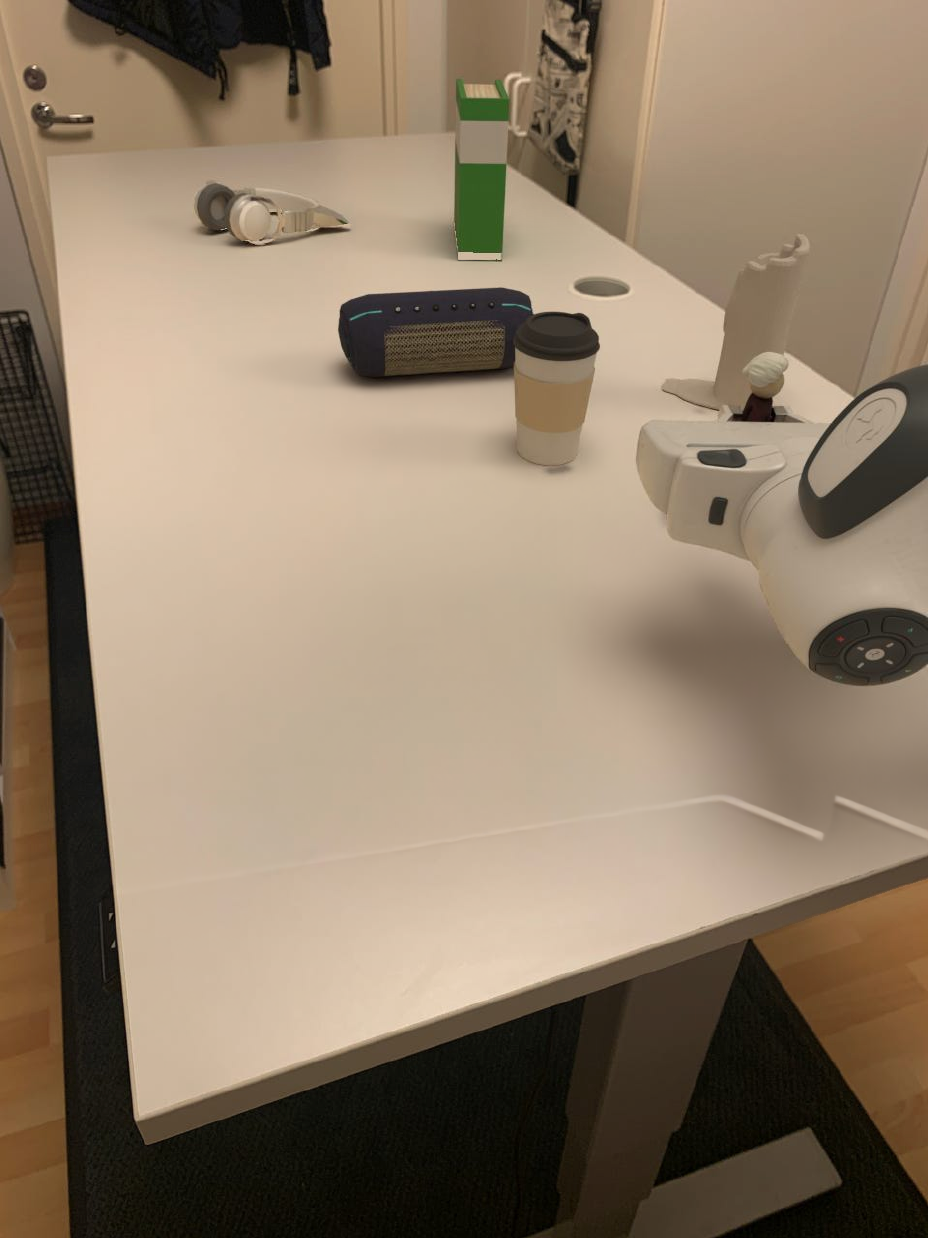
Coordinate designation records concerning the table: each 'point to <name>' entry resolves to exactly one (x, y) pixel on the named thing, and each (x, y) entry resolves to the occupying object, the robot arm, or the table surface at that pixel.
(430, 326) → the portable speaker
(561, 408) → the coffee cup
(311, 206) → the headphones
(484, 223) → the hardback book
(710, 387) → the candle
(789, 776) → the table surface
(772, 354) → the grandmother figurine
